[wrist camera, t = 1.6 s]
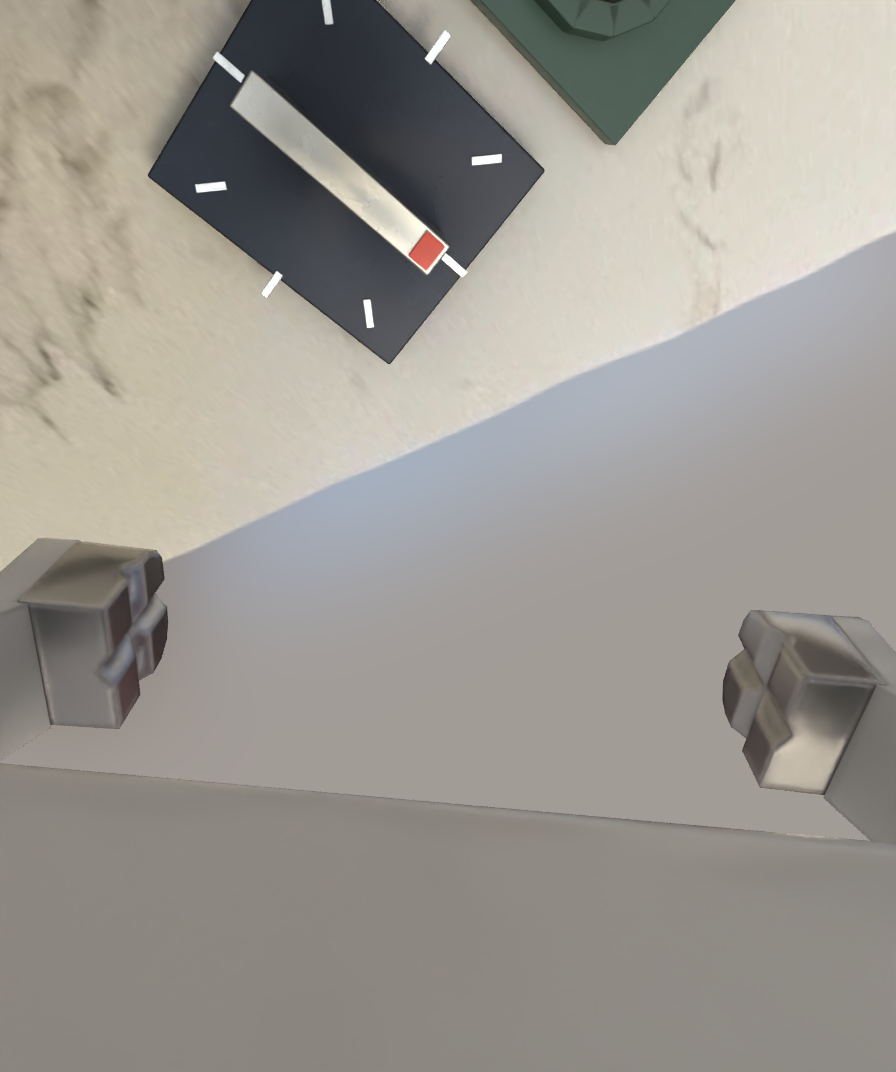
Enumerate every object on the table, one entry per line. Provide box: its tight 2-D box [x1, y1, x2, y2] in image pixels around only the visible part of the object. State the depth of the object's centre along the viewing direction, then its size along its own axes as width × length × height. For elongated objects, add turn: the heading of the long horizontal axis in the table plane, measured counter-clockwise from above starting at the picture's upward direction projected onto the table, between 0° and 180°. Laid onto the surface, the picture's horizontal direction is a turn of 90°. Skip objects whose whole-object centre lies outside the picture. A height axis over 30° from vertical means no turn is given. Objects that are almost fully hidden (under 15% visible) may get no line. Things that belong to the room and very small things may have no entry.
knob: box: [230, 70, 450, 275], centre depth 32 cm, size 10×2×5 cm, turn 50°
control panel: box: [148, 0, 545, 364], centre depth 35 cm, size 14×14×3 cm
